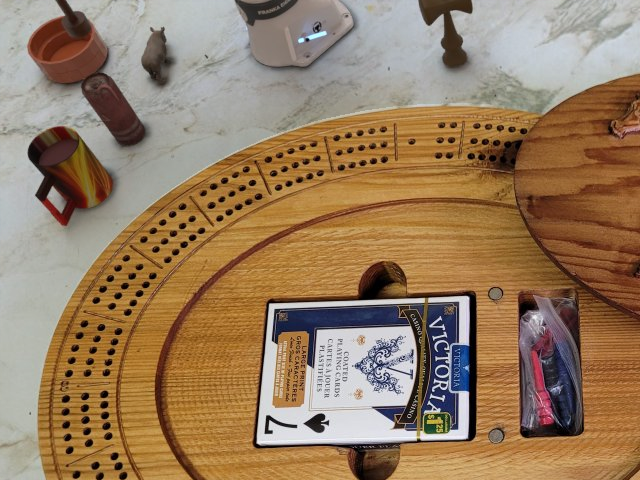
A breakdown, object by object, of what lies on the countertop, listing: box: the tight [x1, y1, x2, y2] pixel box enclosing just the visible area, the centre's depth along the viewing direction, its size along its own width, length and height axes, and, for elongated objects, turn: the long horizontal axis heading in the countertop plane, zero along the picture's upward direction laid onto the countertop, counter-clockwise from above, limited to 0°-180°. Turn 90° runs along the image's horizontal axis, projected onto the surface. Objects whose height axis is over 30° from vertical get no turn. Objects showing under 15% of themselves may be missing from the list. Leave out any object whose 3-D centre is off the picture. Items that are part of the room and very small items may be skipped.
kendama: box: [417, 0, 474, 68], centre depth 159 cm, size 6×10×20 cm, turn 110°
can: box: [80, 71, 146, 147], centre depth 160 cm, size 6×6×14 cm
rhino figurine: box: [140, 26, 172, 85], centre depth 172 cm, size 4×14×6 cm, turn 1°
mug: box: [27, 125, 114, 227], centre depth 154 cm, size 10×14×12 cm
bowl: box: [26, 15, 109, 84], centre depth 174 cm, size 14×14×6 cm
